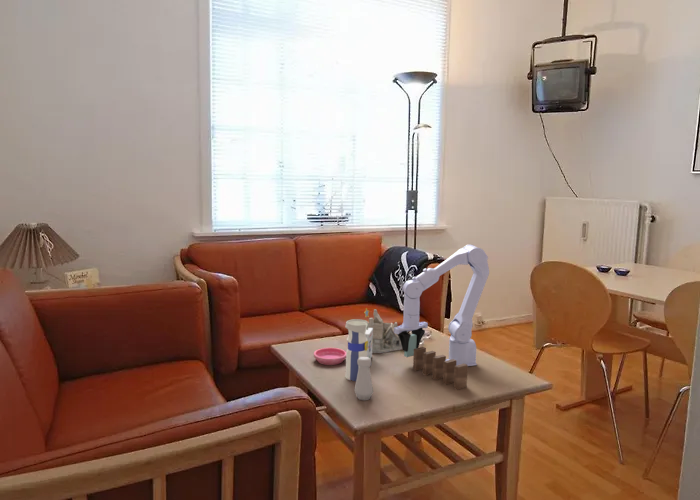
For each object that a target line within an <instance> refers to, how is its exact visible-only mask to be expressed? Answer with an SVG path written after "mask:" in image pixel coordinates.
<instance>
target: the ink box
mask: <svg viewBox="0 0 700 500" xmlns="http://www.w3.org/2000/svg"><path fill="white" fill-rule="evenodd" d="M365 335H366V338H367V341H368V349H367V357H369V358H370V359H371V360H372V357H373V353H372V343H373V328H368V330H367V329H366V332H365Z"/></svg>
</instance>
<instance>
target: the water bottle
mask: <svg viewBox="0 0 700 500" xmlns="http://www.w3.org/2000/svg"><path fill="white" fill-rule="evenodd" d="M369 313H370V310H368V308H367V307H366V308H365V311H364V312H363V314H365V316H364V317H365V319H366V318H370V316H369ZM365 319H358V318H357V319H356V318H355V319H349V320H346V322H345V326H344V327H345V329H347V331H348V336H347V337H346V341H347V349H346V352H347V353H346V358H345V379H347V380H349V381H351V380H352V382H356V380H357V374H358V369H359V366H358V364H357V360H358V358H360V357H367V349H368V341H367V338H366V335H365V332H366V329H367V330H368V328H369V321H367V320H365Z"/></svg>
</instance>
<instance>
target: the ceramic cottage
mask: <svg viewBox="0 0 700 500" xmlns="http://www.w3.org/2000/svg"><path fill="white" fill-rule="evenodd" d="M372 315H373V317H368V323H369V328H373V343H372V354H373V353H374V354H377V353H378V354H380V353H381V354H383V353H387V352H388V353H389V352H393V351H394V352H395V351H399V350H403V349H402V344H401V341H400V339H399V336H398V335H397V334H395V333H394V328H395V327H398V322H397V321H395V322H394V323H393V322H384V321H383V319H382V317H381V316H380V314H379V313H378V310H377V309H373V314H372Z"/></svg>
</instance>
